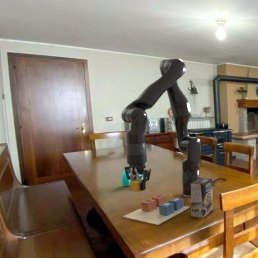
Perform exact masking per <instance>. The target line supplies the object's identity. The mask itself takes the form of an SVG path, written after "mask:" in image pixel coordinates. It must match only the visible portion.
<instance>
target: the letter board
mask: <svg viewBox="0 0 258 258" xmlns="http://www.w3.org/2000/svg"><path fill="white" fill-rule="evenodd" d="M189 208H190V206H186V205H183V208H181V209H179V210H177V211H175V210H174V213H172V214H170V215H168V216H164V215H159V207H156V209H154V210H152V211H150V212H145V211H142V208H138V209H136V210H134V211H131V212H130V213H127V214H125V215H122V217H123V218H127V219H132V220H135V221H139V222H144V223H149V224H152V225H157V226H159V225H160V224H162V223H164V222H166V221H168V220H169V219H171V218H173V217H175V216H177V215H179V214H180V213H182V212H184V211H186V210H188V209H189Z"/></svg>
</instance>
